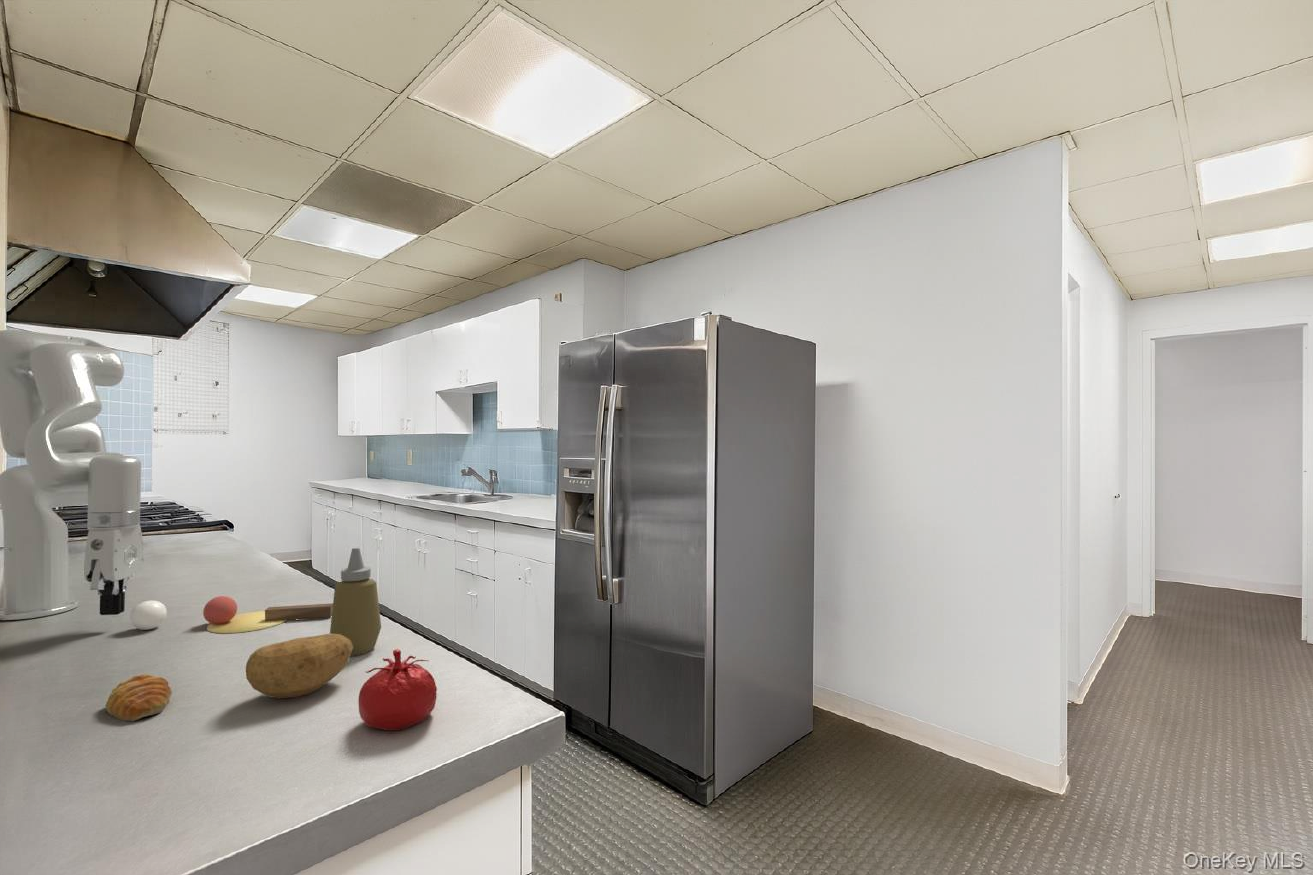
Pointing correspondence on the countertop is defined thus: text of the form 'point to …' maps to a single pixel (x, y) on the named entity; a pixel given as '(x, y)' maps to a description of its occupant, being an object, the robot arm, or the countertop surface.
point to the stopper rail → (299, 612)
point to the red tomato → (397, 695)
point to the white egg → (148, 615)
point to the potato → (297, 665)
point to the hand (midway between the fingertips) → (112, 613)
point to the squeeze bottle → (356, 606)
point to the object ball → (220, 610)
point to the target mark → (244, 623)
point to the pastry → (139, 697)
